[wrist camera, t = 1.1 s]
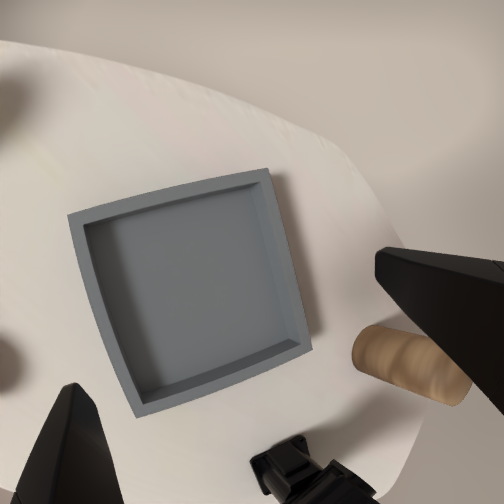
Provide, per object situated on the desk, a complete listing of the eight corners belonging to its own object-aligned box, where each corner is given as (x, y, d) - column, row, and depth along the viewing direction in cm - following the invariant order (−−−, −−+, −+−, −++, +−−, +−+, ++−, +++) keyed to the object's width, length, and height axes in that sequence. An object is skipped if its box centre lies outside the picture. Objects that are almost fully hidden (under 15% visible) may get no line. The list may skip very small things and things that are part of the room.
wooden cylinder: (388, 358, 34) (476, 384, 22) (355, 380, 32) (445, 418, 20) (383, 317, 34) (478, 334, 22) (348, 337, 32) (447, 366, 20)
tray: (295, 342, 29) (312, 349, 26) (134, 402, 23) (136, 418, 21) (253, 176, 28) (267, 167, 25) (74, 219, 22) (67, 215, 19)
